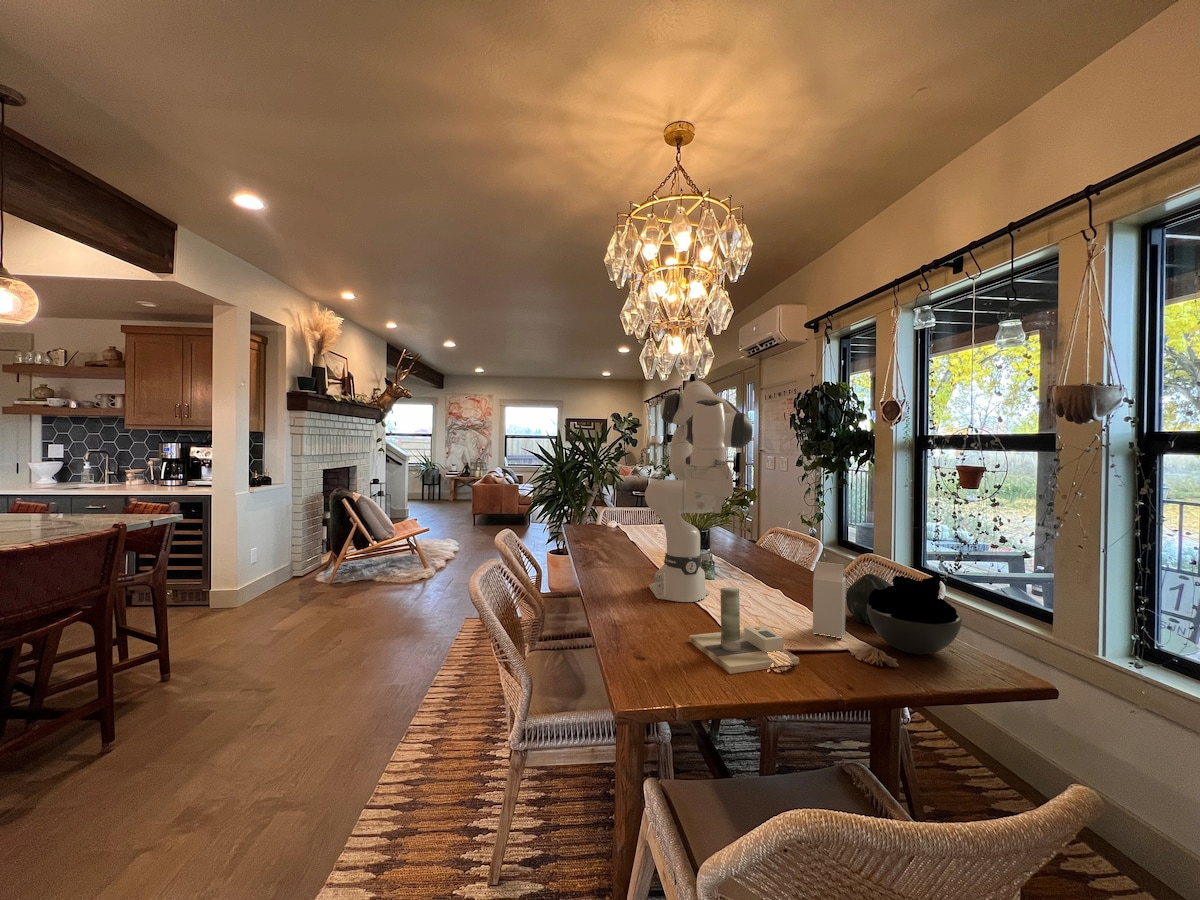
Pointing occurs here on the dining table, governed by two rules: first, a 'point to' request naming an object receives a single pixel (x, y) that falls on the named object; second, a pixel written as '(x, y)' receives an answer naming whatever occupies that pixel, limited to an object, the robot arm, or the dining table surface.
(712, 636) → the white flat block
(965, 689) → the dining table surface
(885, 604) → the heaped grey bowl
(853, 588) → the squash
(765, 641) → the block
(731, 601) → the green cylinder
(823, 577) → the milk carton
